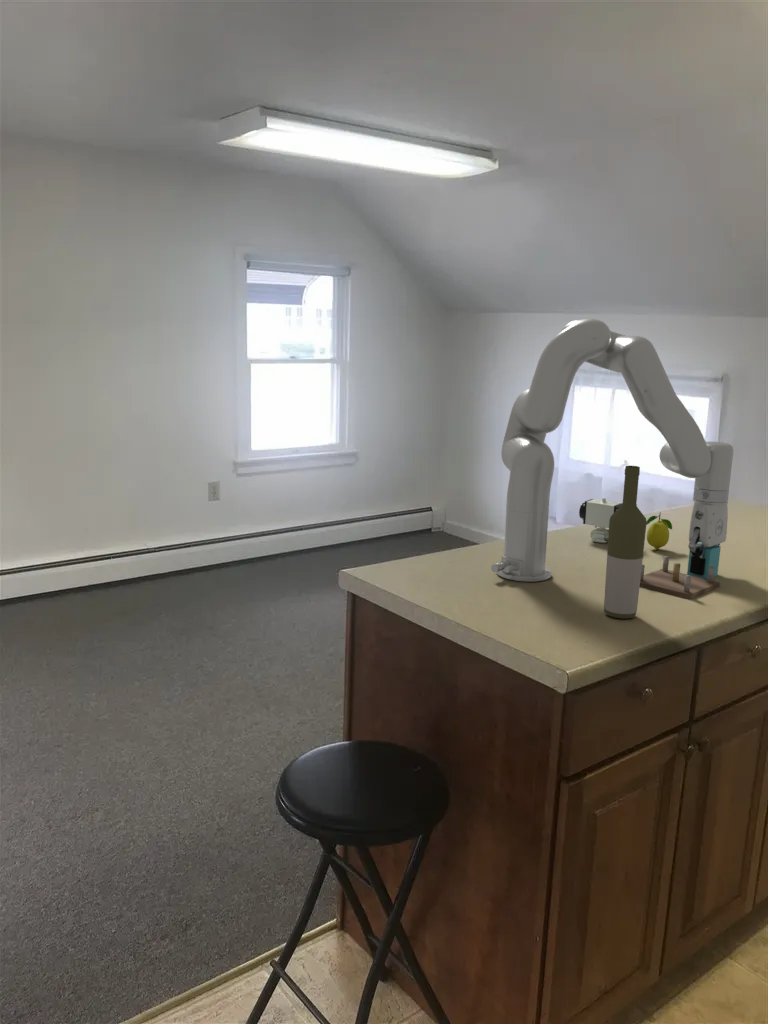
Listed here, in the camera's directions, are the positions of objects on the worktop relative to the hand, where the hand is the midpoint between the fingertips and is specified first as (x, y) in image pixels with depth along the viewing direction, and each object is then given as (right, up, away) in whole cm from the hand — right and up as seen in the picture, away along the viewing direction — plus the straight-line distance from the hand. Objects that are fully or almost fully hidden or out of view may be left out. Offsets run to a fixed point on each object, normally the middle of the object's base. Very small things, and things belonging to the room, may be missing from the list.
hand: (702, 571), depth 197 cm
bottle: (-28, -7, -30) cm, 41 cm away
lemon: (-4, +4, +22) cm, 23 cm away
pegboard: (-9, -3, -9) cm, 13 cm away
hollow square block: (0, -1, 0) cm, 1 cm away
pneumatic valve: (-16, +6, +30) cm, 34 cm away
